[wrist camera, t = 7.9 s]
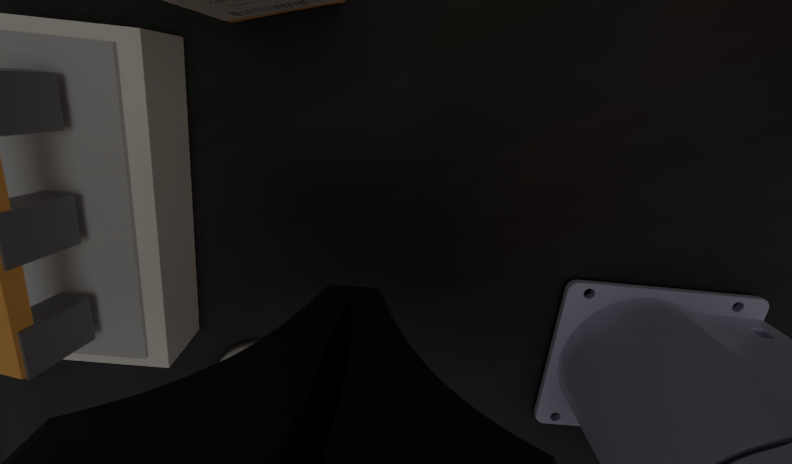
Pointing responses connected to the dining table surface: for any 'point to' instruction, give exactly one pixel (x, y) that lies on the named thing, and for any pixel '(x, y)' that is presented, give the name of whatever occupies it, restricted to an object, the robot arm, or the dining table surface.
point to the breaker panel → (112, 182)
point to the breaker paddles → (35, 240)
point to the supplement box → (248, 7)
